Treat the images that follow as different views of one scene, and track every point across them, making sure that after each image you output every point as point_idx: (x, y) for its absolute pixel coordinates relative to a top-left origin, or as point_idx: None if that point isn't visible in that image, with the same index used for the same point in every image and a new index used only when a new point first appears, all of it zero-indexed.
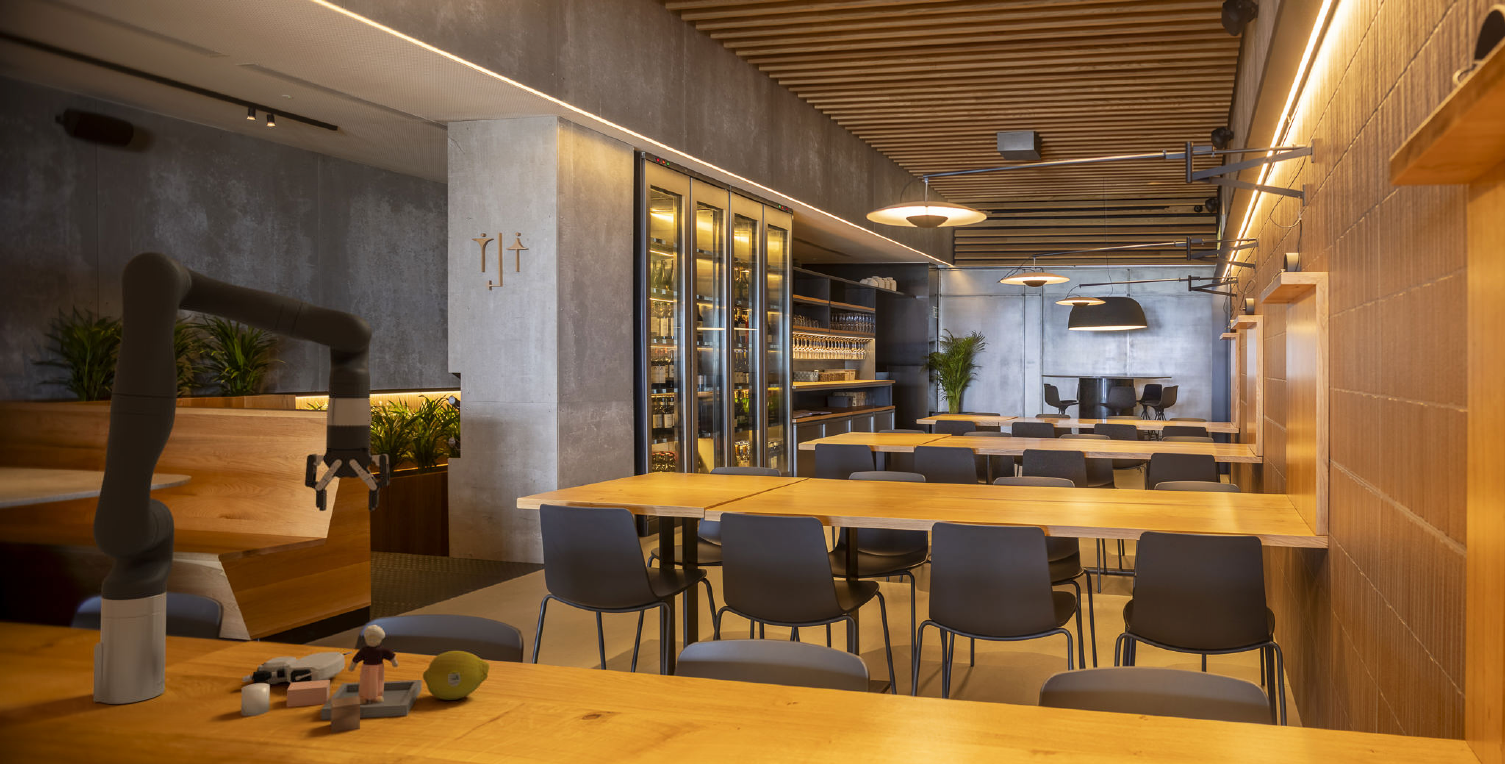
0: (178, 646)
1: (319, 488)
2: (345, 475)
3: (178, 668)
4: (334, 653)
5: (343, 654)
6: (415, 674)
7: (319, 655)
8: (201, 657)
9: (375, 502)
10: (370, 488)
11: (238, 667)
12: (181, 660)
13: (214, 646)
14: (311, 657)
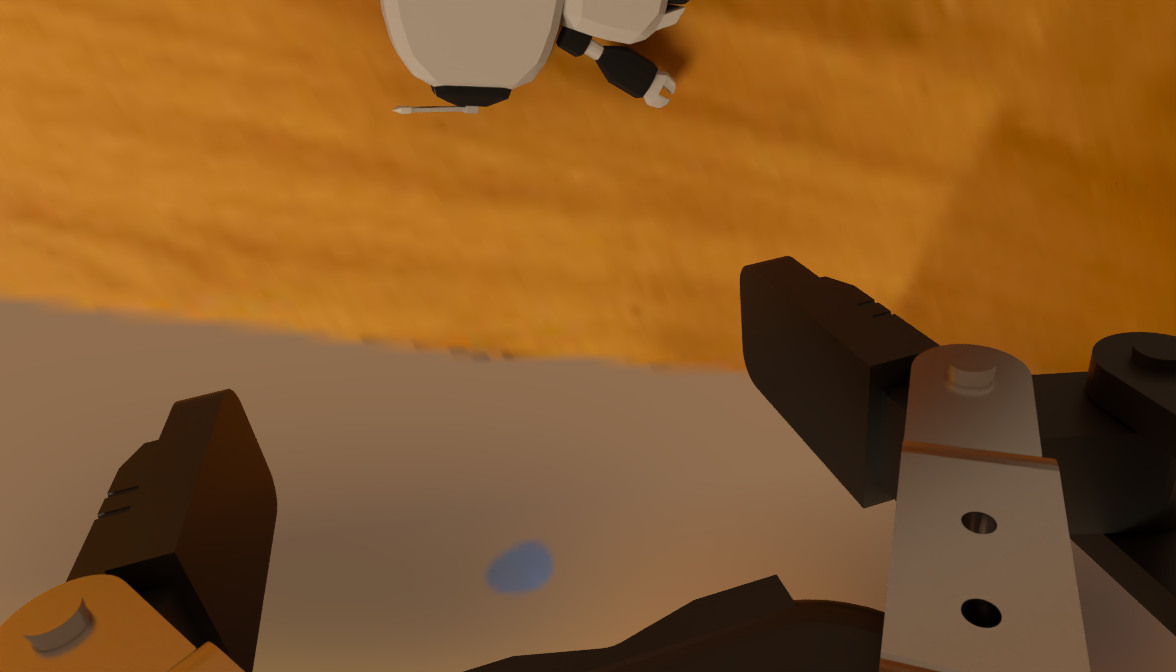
0: (1010, 317)
1: (947, 355)
2: (645, 660)
3: (952, 114)
4: (442, 60)
5: (428, 108)
6: (118, 84)
7: (495, 41)
8: (924, 225)
9: (130, 483)
10: (124, 588)
11: (790, 134)
12: (967, 192)
13: (923, 329)
14: (515, 15)
